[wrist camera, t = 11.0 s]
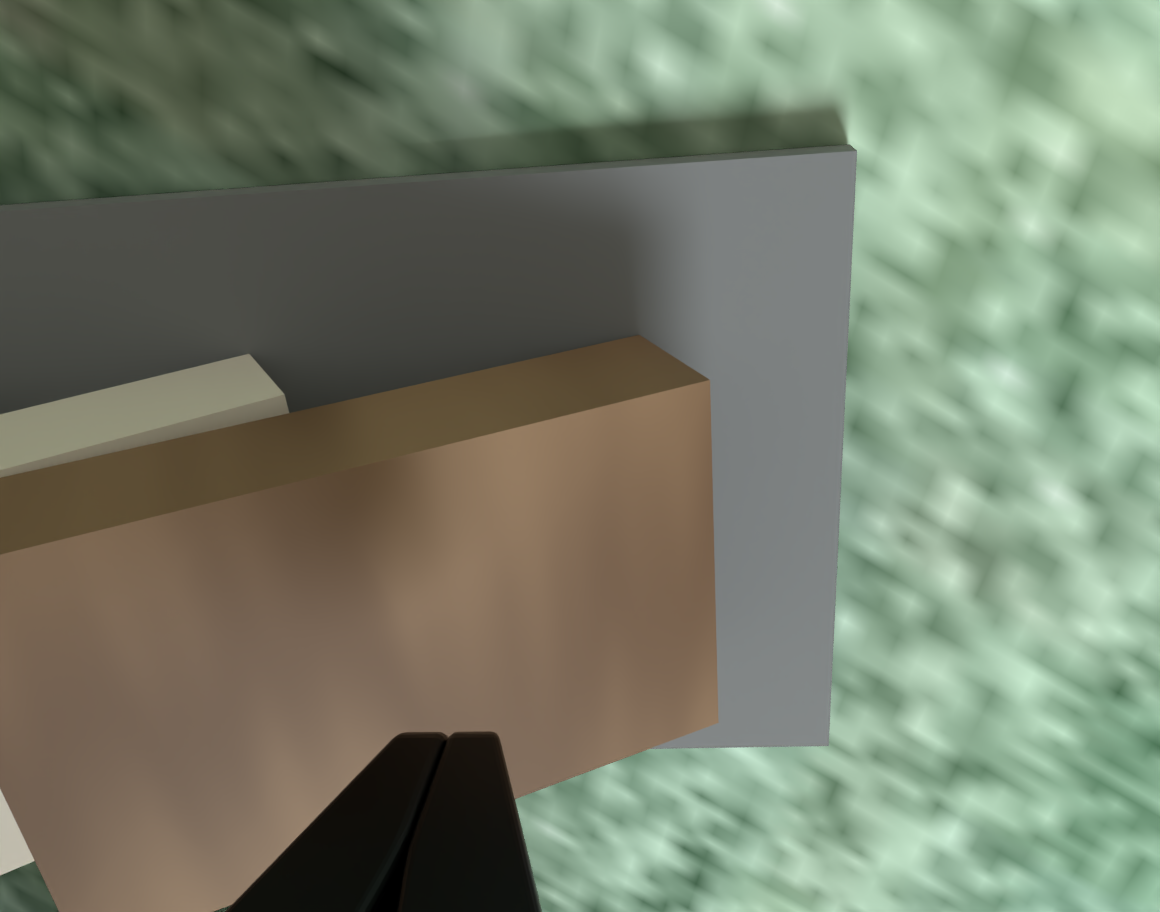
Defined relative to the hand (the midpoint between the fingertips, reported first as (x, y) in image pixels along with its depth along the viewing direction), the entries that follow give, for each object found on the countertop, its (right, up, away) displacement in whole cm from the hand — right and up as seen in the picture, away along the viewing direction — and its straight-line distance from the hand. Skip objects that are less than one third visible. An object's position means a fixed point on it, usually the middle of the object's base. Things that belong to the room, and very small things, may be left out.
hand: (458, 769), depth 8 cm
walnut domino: (+2, +2, +3) cm, 4 cm away
